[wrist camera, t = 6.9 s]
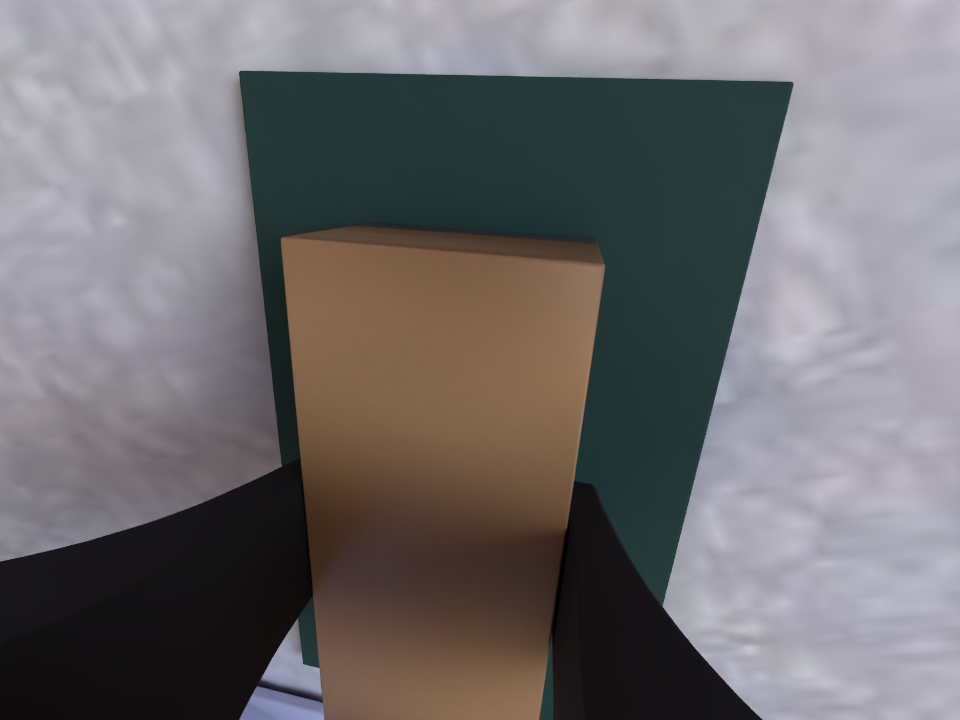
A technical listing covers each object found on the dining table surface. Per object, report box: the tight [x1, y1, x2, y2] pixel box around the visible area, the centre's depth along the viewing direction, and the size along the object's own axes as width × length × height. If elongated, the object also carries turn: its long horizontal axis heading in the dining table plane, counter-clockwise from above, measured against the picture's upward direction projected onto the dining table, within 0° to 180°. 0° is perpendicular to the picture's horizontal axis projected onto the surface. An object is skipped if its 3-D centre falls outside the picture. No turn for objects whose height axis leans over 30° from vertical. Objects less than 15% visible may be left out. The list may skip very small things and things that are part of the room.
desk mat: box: [239, 71, 793, 720], centre depth 13 cm, size 18×11×1 cm, turn 177°
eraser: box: [281, 222, 605, 720], centre depth 11 cm, size 12×5×4 cm, turn 177°
